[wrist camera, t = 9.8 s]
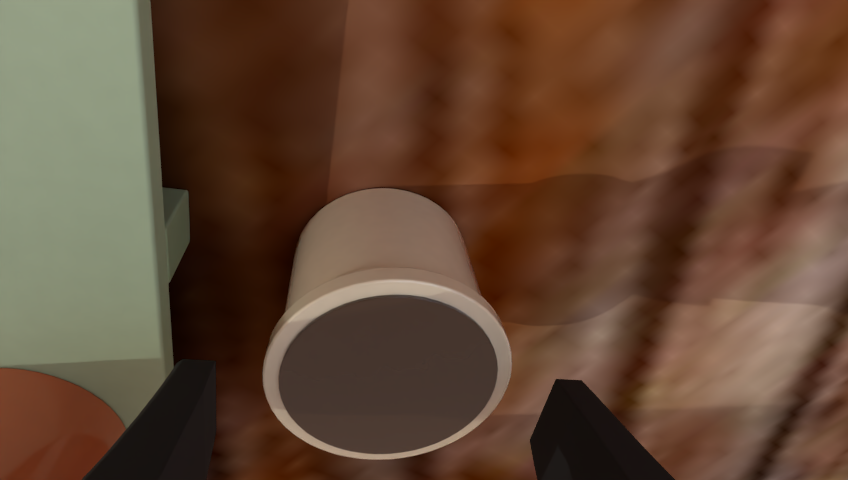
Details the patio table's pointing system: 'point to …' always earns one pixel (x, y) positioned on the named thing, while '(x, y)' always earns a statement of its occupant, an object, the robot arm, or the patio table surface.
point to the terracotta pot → (51, 427)
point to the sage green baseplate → (85, 200)
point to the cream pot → (384, 332)
